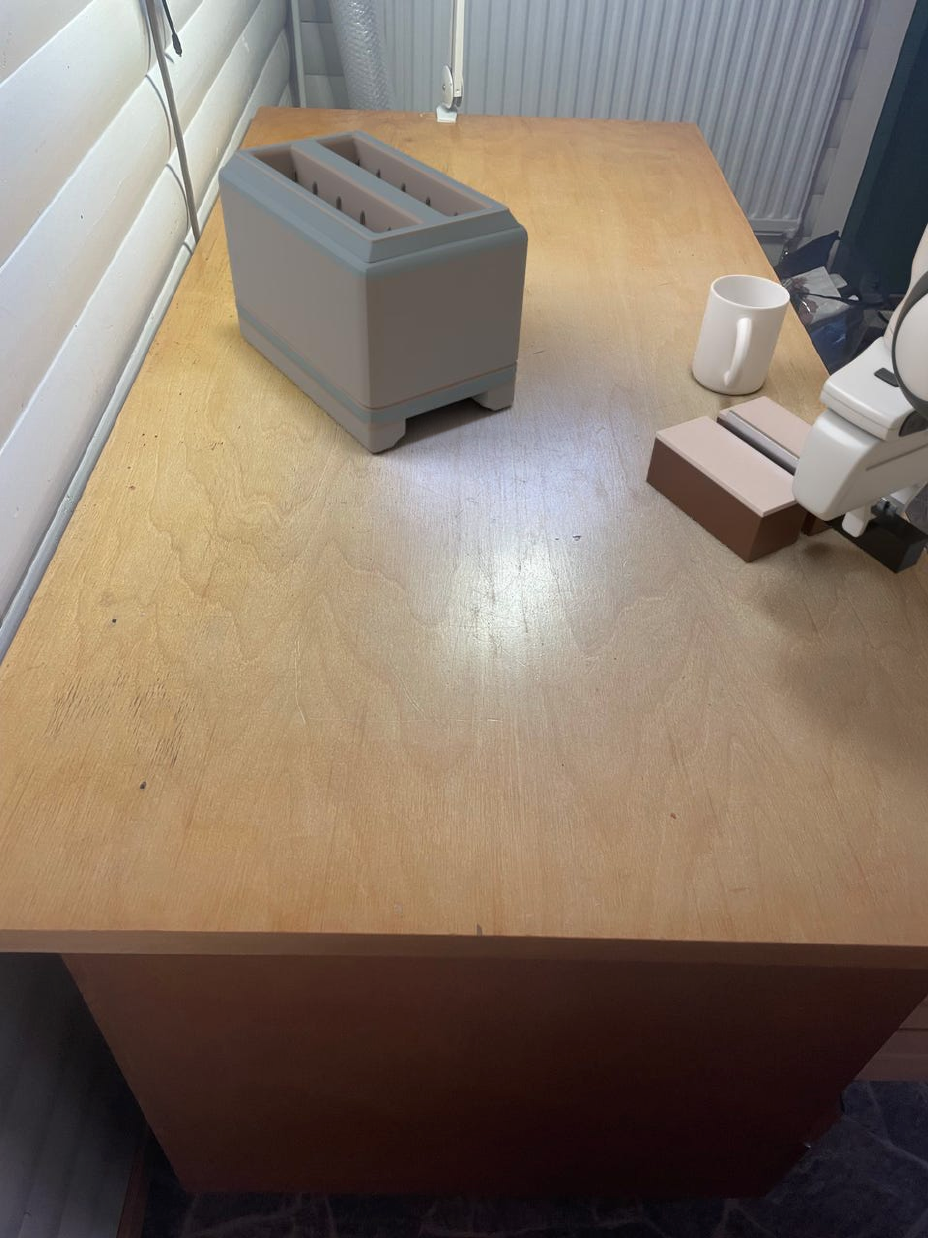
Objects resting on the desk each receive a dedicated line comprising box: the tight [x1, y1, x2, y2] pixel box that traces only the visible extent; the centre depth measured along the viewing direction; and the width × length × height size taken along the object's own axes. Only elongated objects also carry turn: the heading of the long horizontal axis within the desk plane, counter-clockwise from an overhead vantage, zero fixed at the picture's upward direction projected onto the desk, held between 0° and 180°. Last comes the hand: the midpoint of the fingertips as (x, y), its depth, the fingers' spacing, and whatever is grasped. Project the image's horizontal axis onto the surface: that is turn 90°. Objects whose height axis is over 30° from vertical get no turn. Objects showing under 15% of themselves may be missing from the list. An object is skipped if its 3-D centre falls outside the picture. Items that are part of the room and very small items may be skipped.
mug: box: [692, 274, 791, 396], centre depth 99 cm, size 12×8×10 cm
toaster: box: [217, 129, 529, 454], centre depth 96 cm, size 19×33×20 cm, turn 36°
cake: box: [645, 395, 831, 563], centre depth 85 cm, size 14×14×6 cm
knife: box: [723, 410, 928, 575], centre depth 80 cm, size 22×3×3 cm, turn 31°
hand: (870, 523), depth 76 cm, fingers closed on knife, 2 cm apart
